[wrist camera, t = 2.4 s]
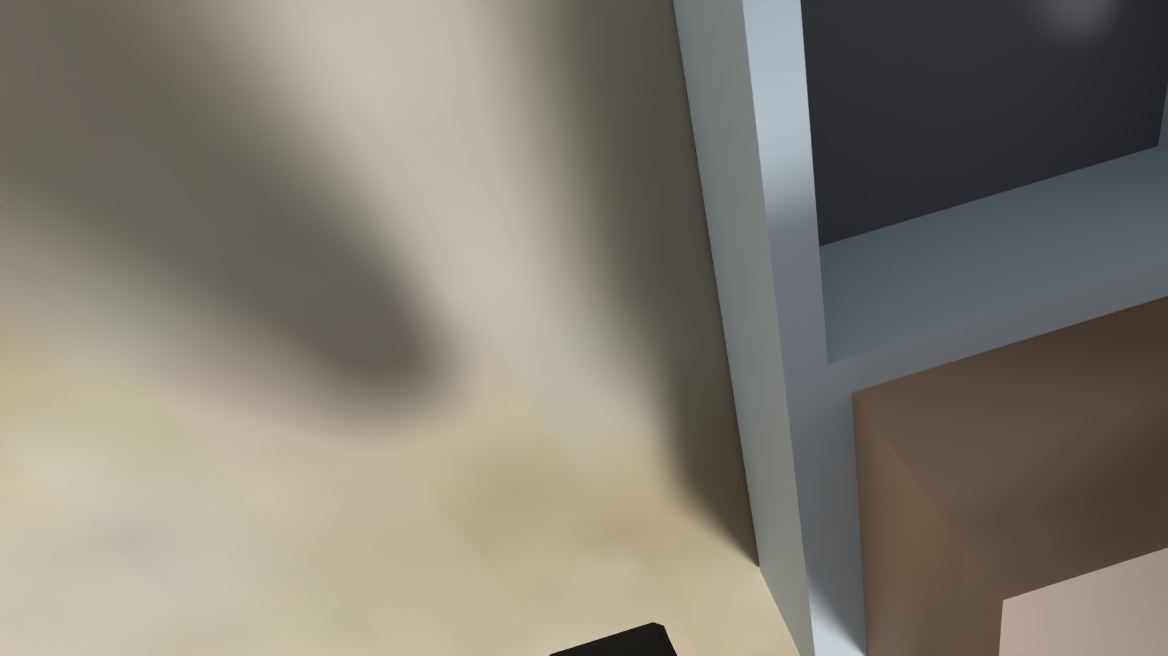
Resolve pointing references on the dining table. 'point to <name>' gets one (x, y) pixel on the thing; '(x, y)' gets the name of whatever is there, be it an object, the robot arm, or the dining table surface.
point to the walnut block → (1021, 497)
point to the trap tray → (907, 223)
